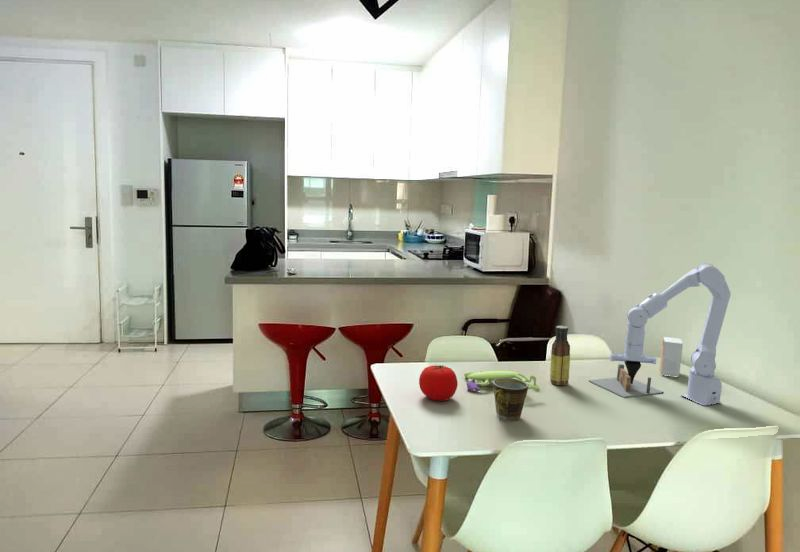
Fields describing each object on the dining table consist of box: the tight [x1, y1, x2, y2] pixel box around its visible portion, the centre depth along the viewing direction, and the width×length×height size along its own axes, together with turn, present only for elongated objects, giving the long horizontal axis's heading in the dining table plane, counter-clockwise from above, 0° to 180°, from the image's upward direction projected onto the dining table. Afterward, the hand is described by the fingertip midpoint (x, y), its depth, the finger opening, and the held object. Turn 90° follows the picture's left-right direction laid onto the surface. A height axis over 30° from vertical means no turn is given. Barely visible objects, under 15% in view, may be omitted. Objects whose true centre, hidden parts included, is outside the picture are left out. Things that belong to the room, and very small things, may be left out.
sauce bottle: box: [549, 325, 571, 386], centre depth 211 cm, size 6×6×20 cm
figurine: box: [463, 370, 540, 392], centre depth 204 cm, size 18×27×6 cm
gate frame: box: [588, 363, 663, 399], centre depth 211 cm, size 17×17×6 cm
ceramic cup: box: [492, 378, 529, 422], centre depth 178 cm, size 13×10×10 cm
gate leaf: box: [619, 367, 631, 391], centre depth 210 cm, size 11×1×4 cm, turn 172°
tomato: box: [418, 364, 458, 402], centre depth 191 cm, size 12×12×10 cm
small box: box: [659, 336, 684, 377], centre depth 228 cm, size 8×6×13 cm
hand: (630, 382), depth 209 cm, fingers closed
